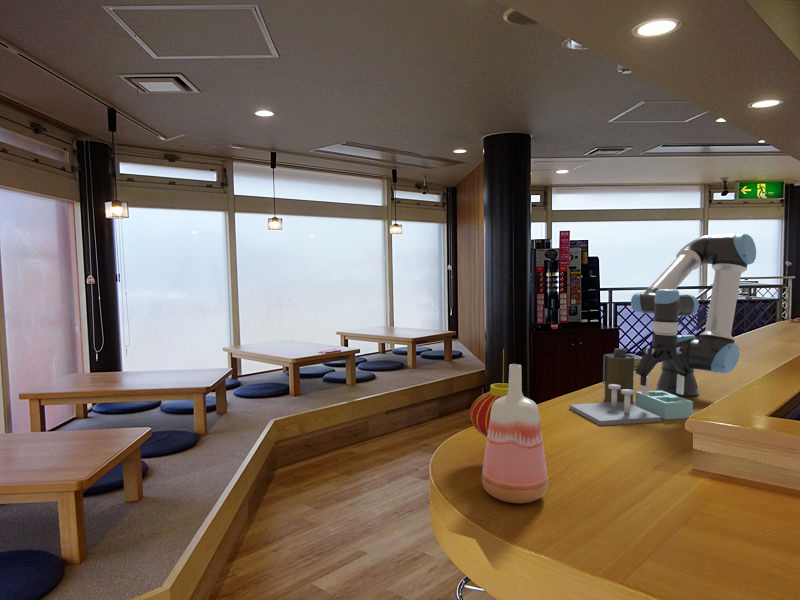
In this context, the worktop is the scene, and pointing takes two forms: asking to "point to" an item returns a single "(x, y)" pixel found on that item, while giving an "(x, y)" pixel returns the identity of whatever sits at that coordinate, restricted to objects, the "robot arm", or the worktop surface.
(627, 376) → the canister
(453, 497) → the worktop surface
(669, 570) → the worktop surface
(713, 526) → the worktop surface
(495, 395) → the lantern
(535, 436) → the vase
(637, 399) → the teal breeze block
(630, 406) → the board
